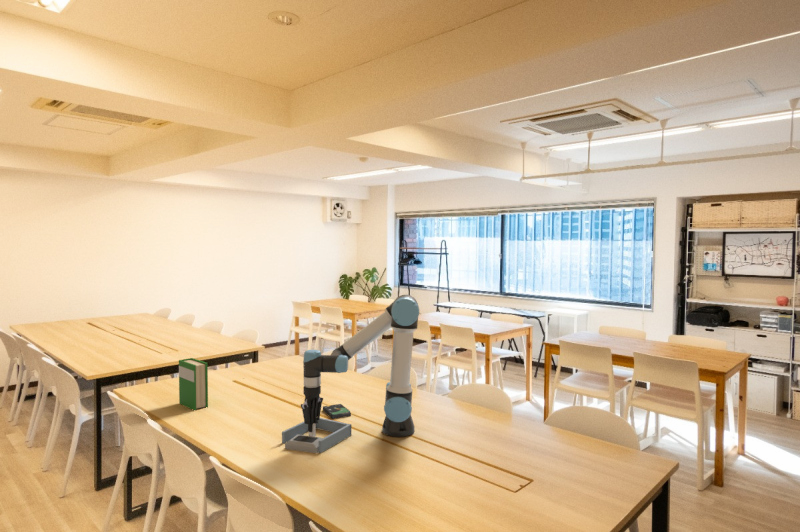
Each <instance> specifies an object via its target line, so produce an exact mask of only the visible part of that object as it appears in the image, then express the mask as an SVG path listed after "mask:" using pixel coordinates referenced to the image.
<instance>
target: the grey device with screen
mask: <svg viewBox="0 0 800 532" xmlns="http://www.w3.org/2000/svg"><path fill="white" fill-rule="evenodd" d="M323 438H324V437H319V436H316V437H314V436H309V435H305V434H302V435H296V436H295V437H294V438H292V439H291V440H289V441H288V442H286V443H284V449H285V450H290V451H298V452H304V453H311V454H312V453H313V454H318V453H319V440H321V439H323Z"/></svg>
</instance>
